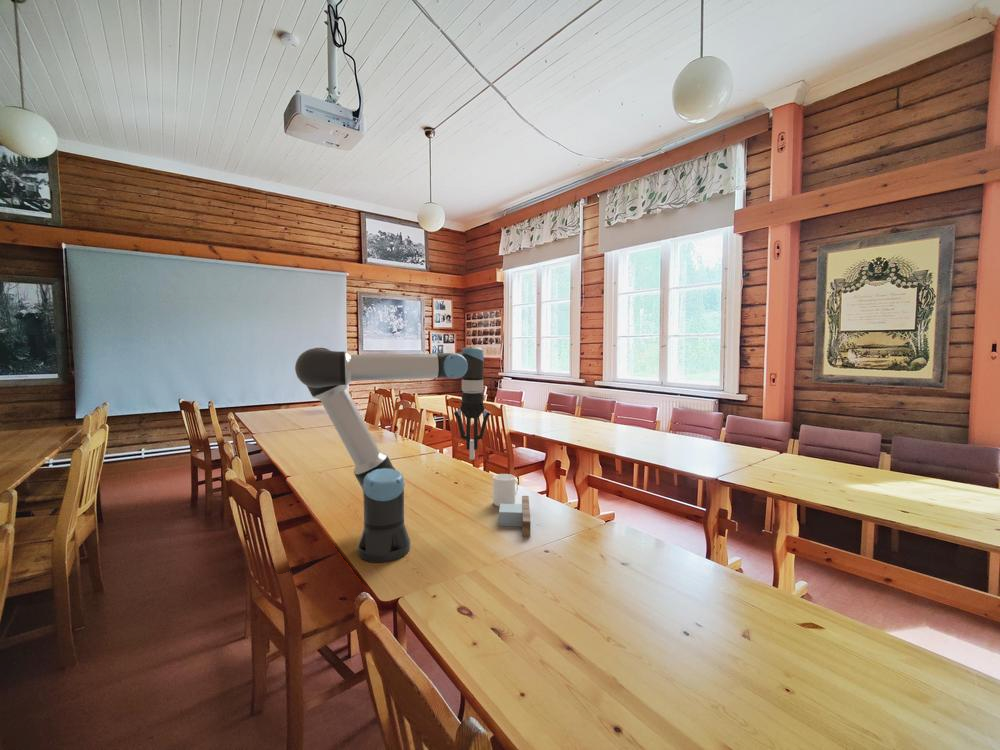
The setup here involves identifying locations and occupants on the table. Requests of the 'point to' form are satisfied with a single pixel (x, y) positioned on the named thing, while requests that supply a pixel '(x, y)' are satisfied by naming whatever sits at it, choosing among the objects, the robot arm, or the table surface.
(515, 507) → the block
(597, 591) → the table surface
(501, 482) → the mug
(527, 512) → the board
